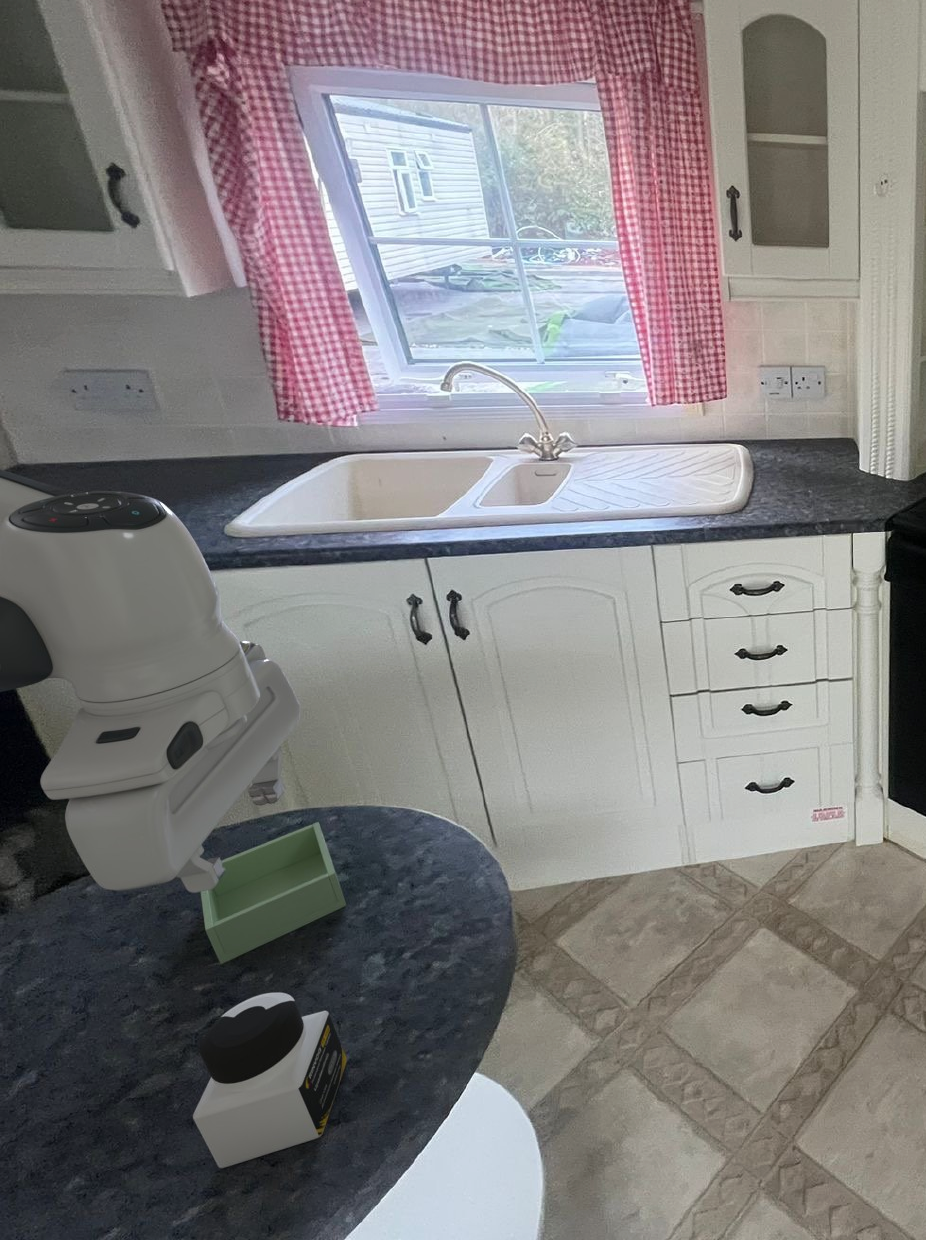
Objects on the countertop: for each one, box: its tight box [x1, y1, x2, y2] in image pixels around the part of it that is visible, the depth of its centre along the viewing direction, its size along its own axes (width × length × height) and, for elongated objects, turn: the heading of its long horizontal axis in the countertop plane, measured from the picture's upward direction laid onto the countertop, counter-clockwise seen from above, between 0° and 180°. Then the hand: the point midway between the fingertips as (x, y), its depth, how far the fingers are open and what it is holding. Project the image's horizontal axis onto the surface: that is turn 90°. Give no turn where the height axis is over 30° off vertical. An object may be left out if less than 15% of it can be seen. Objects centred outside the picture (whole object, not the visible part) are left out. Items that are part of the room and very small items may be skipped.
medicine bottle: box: [192, 992, 348, 1169], centre depth 67 cm, size 7×7×12 cm
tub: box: [200, 821, 347, 965], centre depth 87 cm, size 11×11×5 cm
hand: (242, 838), depth 64 cm, fingers open, 8 cm apart
